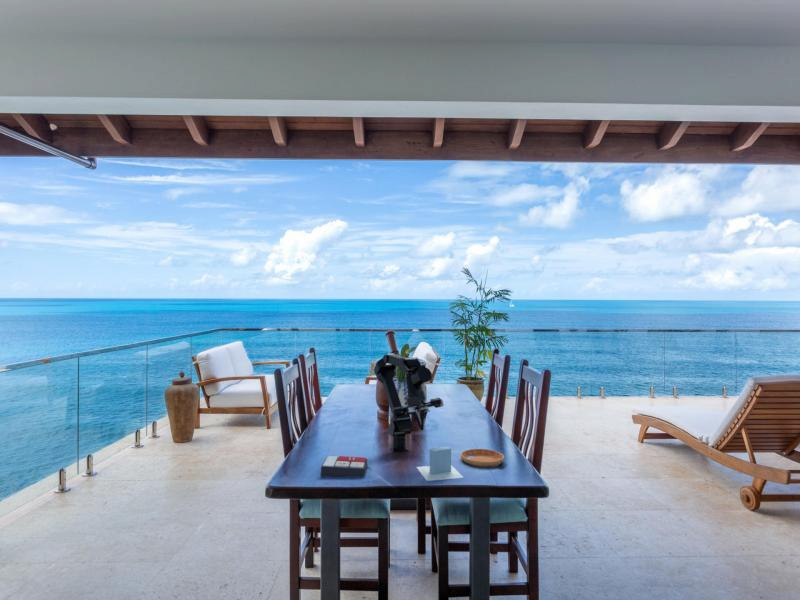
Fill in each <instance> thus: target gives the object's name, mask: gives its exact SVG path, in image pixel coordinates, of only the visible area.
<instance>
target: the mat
mask: <svg viewBox="0 0 800 600" xmlns="http://www.w3.org/2000/svg"><path fill="white" fill-rule="evenodd" d="M416 469H417V470H418V471H419V472H420V474H421V476H422V477H423V478H424V479H425V481H426V482H429V481H440V480H441V481H443V480H452V479H455V480H456V479H463V478H464V476H463V475H462V474H461V473H460V472H459V471H458V470H457V469H456V468H455V467H454V466H453V465H452V464H451V472H446V473H441V474H436V475H434V474H432V473H430V465H428V466H427V465H425V466H423V465H422V466H416Z"/></svg>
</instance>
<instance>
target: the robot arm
mask: <svg viewBox="0 0 800 600" xmlns="http://www.w3.org/2000/svg"><path fill="white" fill-rule="evenodd" d="M373 367H374V368H373V372H374V374H375V377H376V379H377V380H378V381H379V382H380V383H381V384H382V385H383V389H384V393H385V396H386V400H387V403H388V404H389V405H388V406H389V408H390V411H391V417H390V419H389V421H390V423H389V425H388V427H387V429H386V430H387V431H386V432H387V434H388V435H389V436H391V437H392V441H391V442H392V445H390V449H391V451H392V452H394V453H395V452H408V451H409V448H408V446H407V435H412V431H413V420H412V417H413V418H414V420H415V421H416V424H418V427H419V429H420V431H424V430H425V426H426V425H425V424H426V419H427V416H428V413H430V408H431V407H434V408H435V409H436V408H437V409H438V408H441V407H444V406H445V405H444V401H443V399H442V398H440V397H436V398H431V399H430V400H429V401H428V402H426V394H425V392H424V390H423V387H422V386H423V385H425V384H427V383H428V382H429V381H431V380H432V379H433V374H432V372H431V370H430V369H429V368H428V367H426V364H422V362H421V361H420V359H419V358H418V357H416V356H414V357H405V356H401V355H398V354H396V353H385V354H383V356H382V358H380V359H379V360H378V361H377V362H376V363H375V365H374V366H373ZM397 368H398V369H399V371H400V372H402V373H404V375H405V376H404V377H403V381H405V385H406V390H407V396H406V398H405V399H406V403H407V406H404V405H402V402H401V399H400V396H399V393H398V389H397V387H396V385H395V381H394V377H395V375H396V369H397ZM418 411H419V412H418ZM411 416H412V417H411Z"/></svg>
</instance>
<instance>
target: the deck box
mask: <svg viewBox="0 0 800 600" xmlns="http://www.w3.org/2000/svg"><path fill="white" fill-rule="evenodd" d="M451 465H452V448H451V447H448V446H440V447H434V448H433V447H432V448H430V449H429V466H430V473H432V474H434V475H436V474H441V473H446V472H451Z"/></svg>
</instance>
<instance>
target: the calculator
mask: <svg viewBox="0 0 800 600" xmlns="http://www.w3.org/2000/svg"><path fill="white" fill-rule="evenodd" d="M367 468H368V459H367V457H364V456H363V457H362V456H361V457H359V456H344V455H339V456H336V455H328V456H326V457H325V459H324V460H323V463H322V465H321V467H320V477H324V476H327V477H344V478H346V477H347V478H352V477H353V478H363V476H364V477H365V475H366V472H367Z"/></svg>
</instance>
